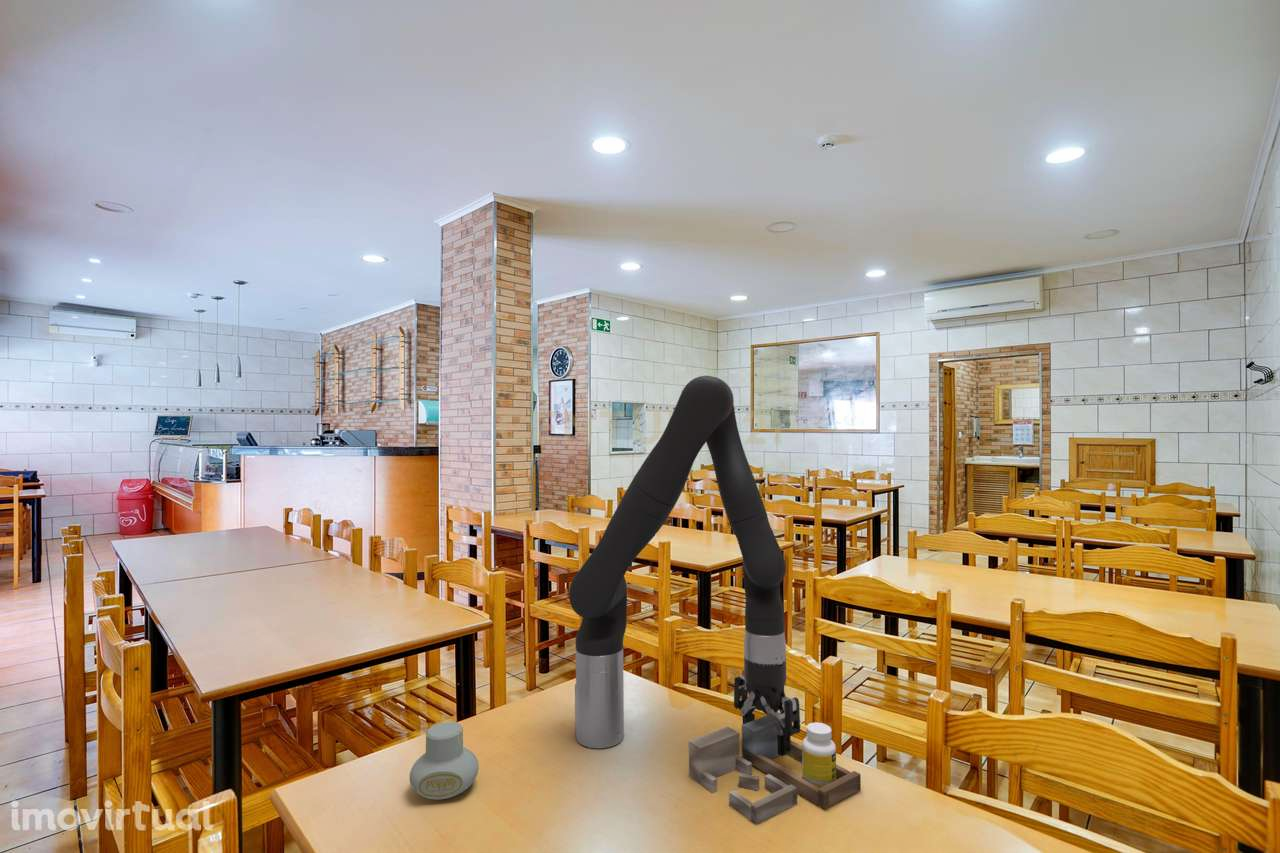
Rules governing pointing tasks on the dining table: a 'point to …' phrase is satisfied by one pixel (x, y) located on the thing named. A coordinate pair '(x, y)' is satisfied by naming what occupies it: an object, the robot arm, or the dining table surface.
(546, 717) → the dining table surface
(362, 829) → the dining table surface
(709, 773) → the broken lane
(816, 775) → the supplement bottle
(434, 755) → the air freshener
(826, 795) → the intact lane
